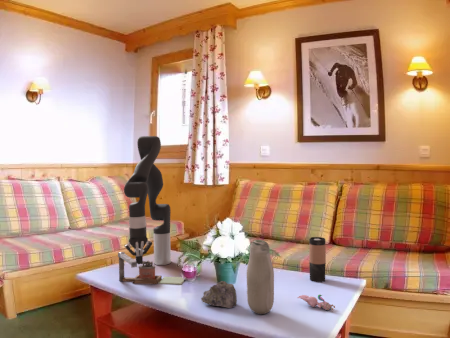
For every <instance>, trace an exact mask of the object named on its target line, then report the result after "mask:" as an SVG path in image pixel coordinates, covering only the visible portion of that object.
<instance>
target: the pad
mask: <svg viewBox="0 0 450 338" xmlns="http://www.w3.org/2000/svg"><path fill="white" fill-rule="evenodd" d="M182 277H183V276H182ZM182 277H180V276H178V277H177V276H163V277H162V280H161V281H159V283H158V285H159V284H160V285H176V286H177V285H178V286H179V285H180V286H181V285H182V284H183V283H184V282H185V281H184V279H183V278H182Z"/></svg>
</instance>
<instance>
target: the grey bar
mask: <svg viewBox="0 0 450 338" xmlns="http://www.w3.org/2000/svg"><path fill="white" fill-rule="evenodd" d="M117 257H118V258H119V257H120V258H122V259H123V260H124V262H125V263H128V264H129V265H130V266H131V268H132V269H133V268H138V264H137V261H136V259H134V258H133V257H132V256H130V255H127V254H126V253H125V251H119V252H117Z"/></svg>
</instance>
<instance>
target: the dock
mask: <svg viewBox="0 0 450 338" xmlns="http://www.w3.org/2000/svg"><path fill="white" fill-rule="evenodd" d="M118 275H119V276H118V277H119V278H118V281H119V282H128V283H129V282H132V284H138V285H139V284H141V285H142V284H143V285H159V281H161V280H162V279H163V277H162V275H156V274H155V279H139V274H137V275H136V276H135V277H128V276H125V260H123V259H122V258H120V257H118Z"/></svg>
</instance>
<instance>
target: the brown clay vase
mask: <svg viewBox="0 0 450 338" xmlns="http://www.w3.org/2000/svg"><path fill="white" fill-rule="evenodd" d="M246 290H247V291H246V298H247V300H246V301H247V304H248V307H249V309H250V310H251V311H252V312H254V313H255V314H259V315H265V314H268V313H270V311H271V310H272V308H273V306H274V302H275V271H274V266H273V262H272V259H271V254H270V246H269V243H268V242H267V241H265V240H262V239H255V240H253V241H252V242H251V243H250V246H249V257H248V263H247V268H246Z"/></svg>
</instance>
